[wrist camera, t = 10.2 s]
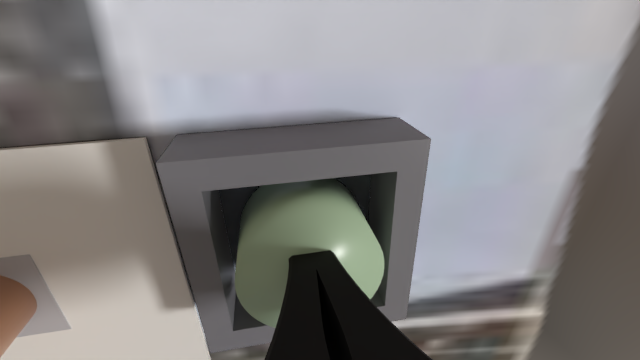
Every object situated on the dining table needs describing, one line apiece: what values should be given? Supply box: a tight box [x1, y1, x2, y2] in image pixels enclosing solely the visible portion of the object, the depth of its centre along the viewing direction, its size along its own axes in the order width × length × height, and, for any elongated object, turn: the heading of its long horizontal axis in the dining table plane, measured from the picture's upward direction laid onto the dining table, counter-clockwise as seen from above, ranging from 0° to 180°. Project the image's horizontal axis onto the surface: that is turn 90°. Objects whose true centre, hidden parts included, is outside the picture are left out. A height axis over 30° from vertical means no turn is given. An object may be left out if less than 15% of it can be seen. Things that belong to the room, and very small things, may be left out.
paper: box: [0, 137, 211, 360], centre depth 13 cm, size 14×12×1 cm
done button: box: [235, 178, 384, 328], centre depth 11 cm, size 5×5×3 cm
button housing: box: [156, 118, 431, 353], centre depth 12 cm, size 8×8×2 cm
